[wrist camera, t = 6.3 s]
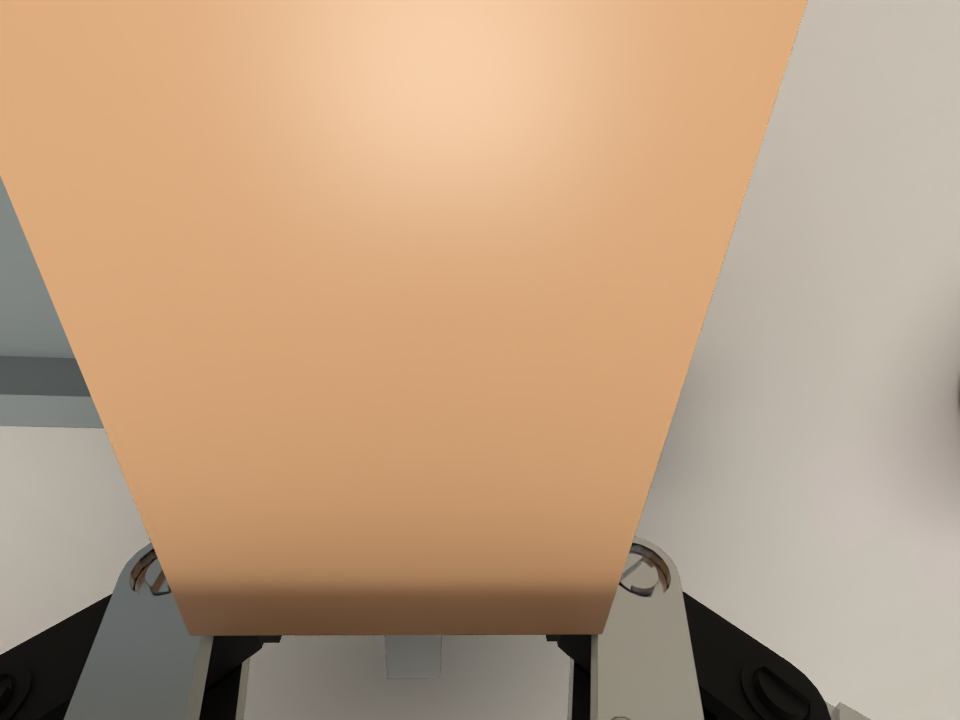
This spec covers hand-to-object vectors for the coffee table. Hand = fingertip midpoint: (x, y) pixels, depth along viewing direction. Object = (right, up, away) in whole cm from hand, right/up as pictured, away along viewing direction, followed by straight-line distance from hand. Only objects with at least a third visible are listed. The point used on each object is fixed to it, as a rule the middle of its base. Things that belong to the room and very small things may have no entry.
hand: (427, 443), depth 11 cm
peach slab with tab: (0, +3, 0) cm, 3 cm away
